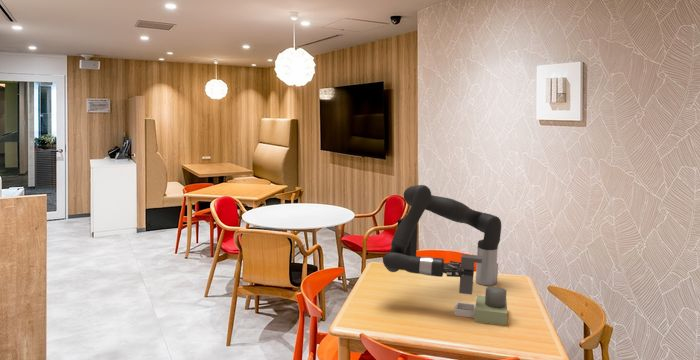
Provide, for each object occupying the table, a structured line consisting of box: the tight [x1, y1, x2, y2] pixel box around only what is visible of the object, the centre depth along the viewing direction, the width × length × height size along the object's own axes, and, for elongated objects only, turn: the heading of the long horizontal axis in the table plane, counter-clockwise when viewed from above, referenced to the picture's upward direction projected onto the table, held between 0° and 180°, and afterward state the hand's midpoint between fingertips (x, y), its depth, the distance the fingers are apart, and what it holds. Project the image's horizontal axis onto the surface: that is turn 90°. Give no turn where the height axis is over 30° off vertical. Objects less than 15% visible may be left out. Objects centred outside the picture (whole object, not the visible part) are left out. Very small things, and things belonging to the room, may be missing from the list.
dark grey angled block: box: [458, 253, 482, 296], centre depth 207 cm, size 8×5×15 cm, turn 74°
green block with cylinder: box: [453, 286, 508, 326], centre depth 207 cm, size 20×16×11 cm
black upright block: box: [397, 216, 418, 256], centre depth 268 cm, size 8×8×28 cm
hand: (473, 271), depth 206 cm, fingers closed on dark grey angled block, 5 cm apart
